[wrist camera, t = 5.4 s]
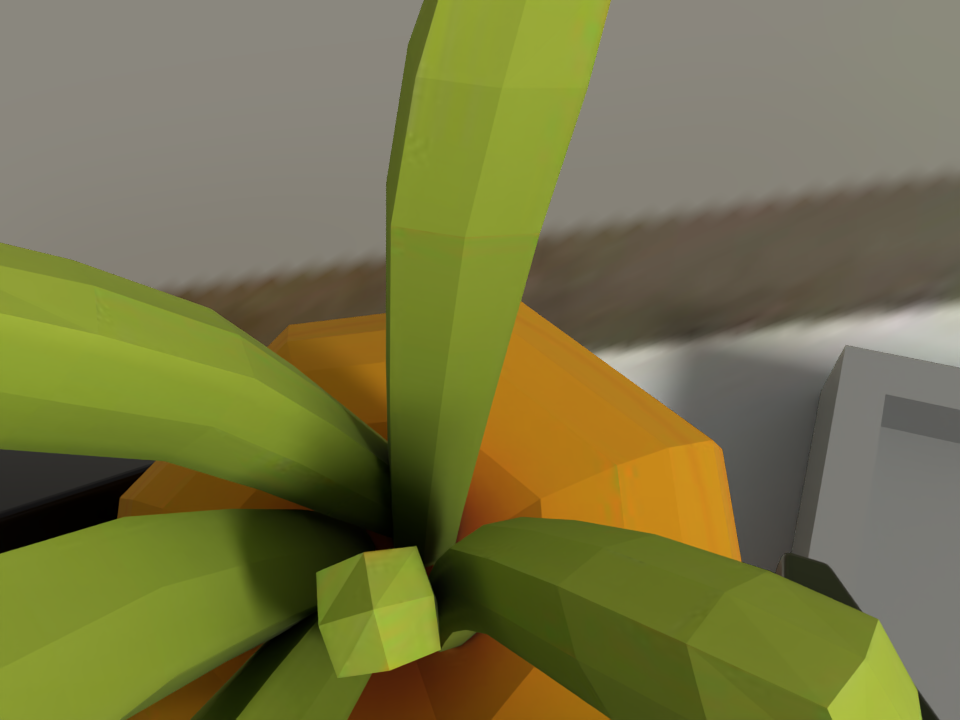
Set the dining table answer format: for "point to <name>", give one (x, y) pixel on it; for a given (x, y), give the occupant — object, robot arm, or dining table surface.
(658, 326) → the dining table surface
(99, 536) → the carrot
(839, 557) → the grey tray
